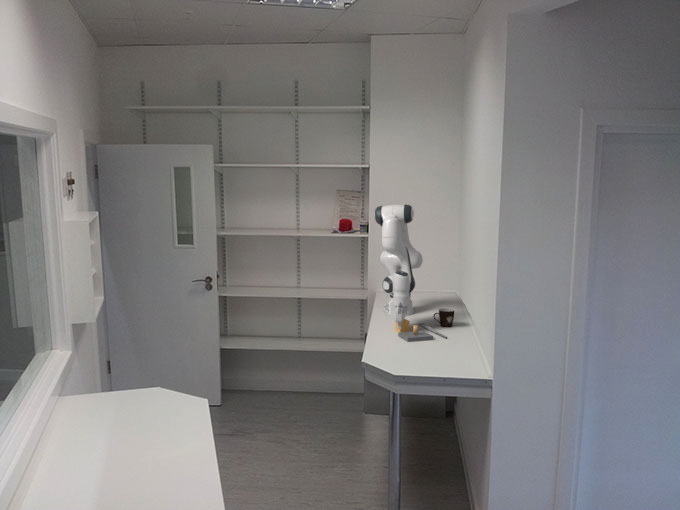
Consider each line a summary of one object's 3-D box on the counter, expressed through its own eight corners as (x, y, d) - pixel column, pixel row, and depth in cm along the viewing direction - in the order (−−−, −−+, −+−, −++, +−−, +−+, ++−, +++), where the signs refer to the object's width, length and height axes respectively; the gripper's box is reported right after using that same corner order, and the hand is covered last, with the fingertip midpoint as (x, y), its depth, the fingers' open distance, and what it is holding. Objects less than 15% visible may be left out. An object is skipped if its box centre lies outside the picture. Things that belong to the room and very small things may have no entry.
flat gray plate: (398, 336, 305) (398, 323, 305) (422, 334, 310) (422, 322, 309) (407, 341, 294) (408, 329, 293) (433, 339, 298) (433, 327, 298)
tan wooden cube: (395, 330, 318) (395, 319, 317) (404, 329, 320) (404, 318, 319) (400, 332, 313) (400, 321, 312) (409, 331, 315) (409, 320, 314)
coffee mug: (453, 326, 329) (453, 308, 328) (454, 329, 321) (455, 311, 320) (432, 325, 330) (432, 308, 329) (433, 329, 322) (433, 311, 321)
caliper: (424, 327, 329) (417, 325, 327) (426, 323, 329) (418, 321, 327) (452, 341, 302) (444, 339, 300) (453, 336, 302) (445, 334, 300)
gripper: (404, 305, 304) (404, 331, 305) (409, 298, 324) (409, 323, 325) (392, 305, 305) (392, 331, 307) (398, 298, 325) (397, 322, 327)
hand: (400, 327), depth 316 cm, fingers closed on tan wooden cube, 7 cm apart
